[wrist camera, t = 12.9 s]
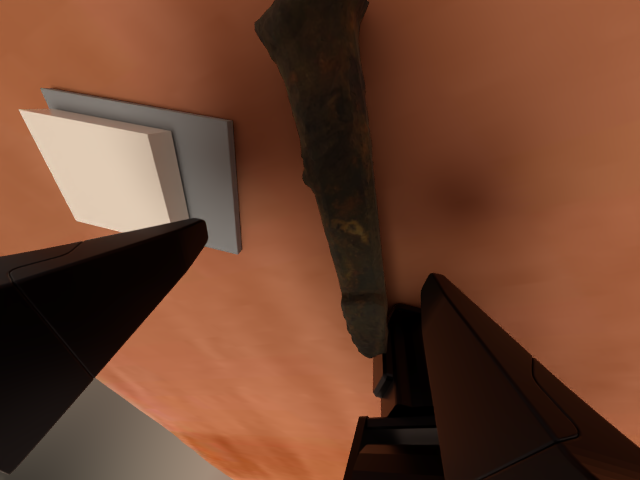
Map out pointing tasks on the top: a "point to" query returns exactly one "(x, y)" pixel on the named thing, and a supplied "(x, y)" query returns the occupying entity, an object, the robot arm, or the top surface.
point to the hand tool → (335, 146)
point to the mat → (181, 157)
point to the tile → (110, 169)
